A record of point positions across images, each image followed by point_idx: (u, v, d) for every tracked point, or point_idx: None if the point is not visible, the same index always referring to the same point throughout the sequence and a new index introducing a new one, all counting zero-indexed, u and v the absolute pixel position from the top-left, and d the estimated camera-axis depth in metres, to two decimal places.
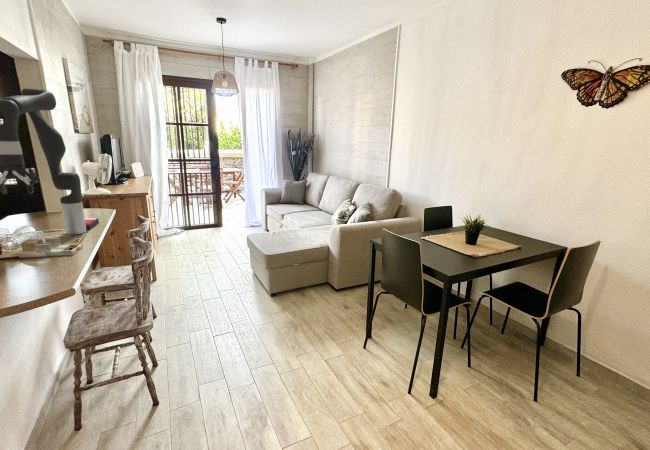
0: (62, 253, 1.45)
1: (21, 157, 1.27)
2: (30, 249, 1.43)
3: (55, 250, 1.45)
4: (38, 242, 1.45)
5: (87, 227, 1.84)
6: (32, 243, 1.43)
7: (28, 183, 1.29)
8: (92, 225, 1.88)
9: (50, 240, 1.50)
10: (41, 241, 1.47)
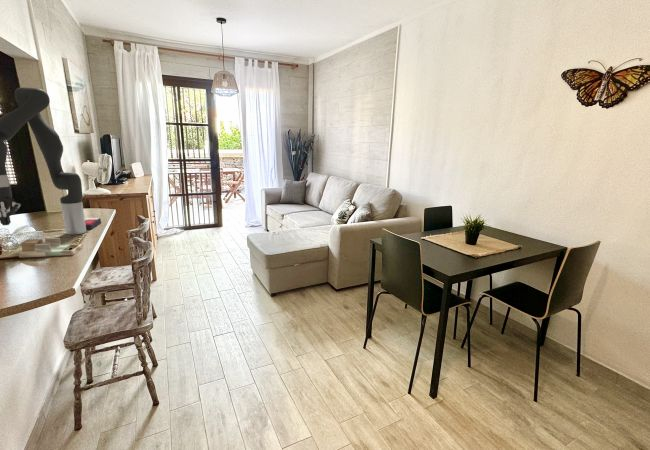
0: (62, 253, 1.45)
1: (9, 189, 1.37)
2: (30, 249, 1.43)
3: (55, 250, 1.45)
4: (38, 242, 1.45)
5: (88, 227, 1.85)
6: (32, 243, 1.43)
7: (4, 215, 1.39)
8: (94, 225, 1.89)
9: (50, 240, 1.50)
10: (41, 241, 1.47)
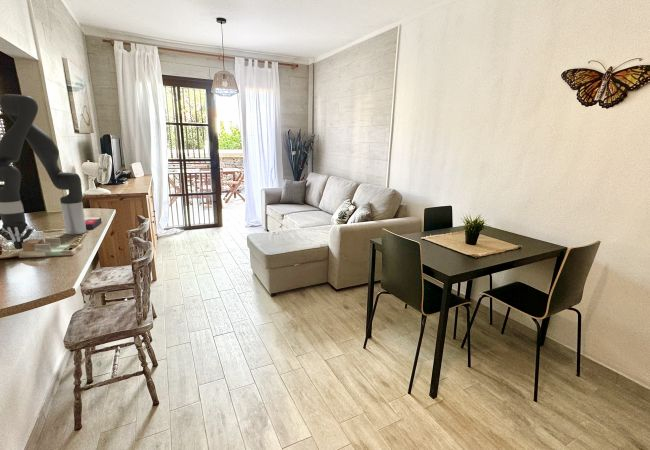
0: (62, 253, 1.45)
1: (22, 214, 1.41)
2: (31, 249, 1.43)
3: (55, 250, 1.45)
4: (39, 242, 1.45)
5: (90, 226, 1.85)
6: (33, 243, 1.43)
7: (18, 240, 1.42)
8: (95, 224, 1.89)
9: (50, 240, 1.50)
10: (42, 241, 1.47)
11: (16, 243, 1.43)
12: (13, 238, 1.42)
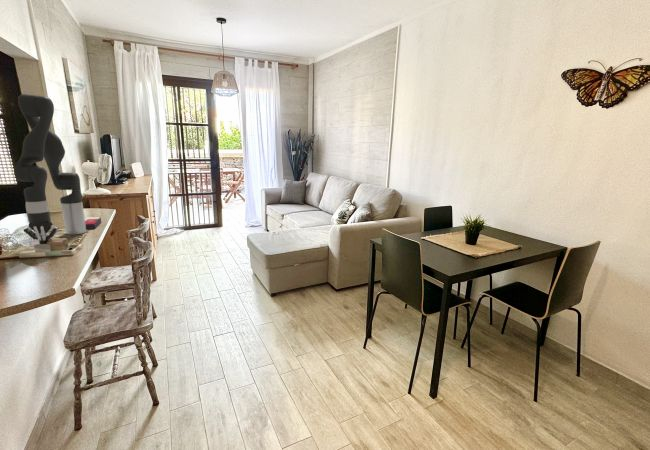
0: (62, 253, 1.45)
1: (48, 214, 1.44)
2: (56, 248, 1.46)
3: (55, 250, 1.45)
4: (63, 241, 1.47)
5: (92, 226, 1.86)
6: (58, 242, 1.45)
7: (44, 239, 1.45)
8: (96, 224, 1.90)
9: None
10: (66, 240, 1.50)
11: (41, 242, 1.45)
12: (39, 237, 1.44)
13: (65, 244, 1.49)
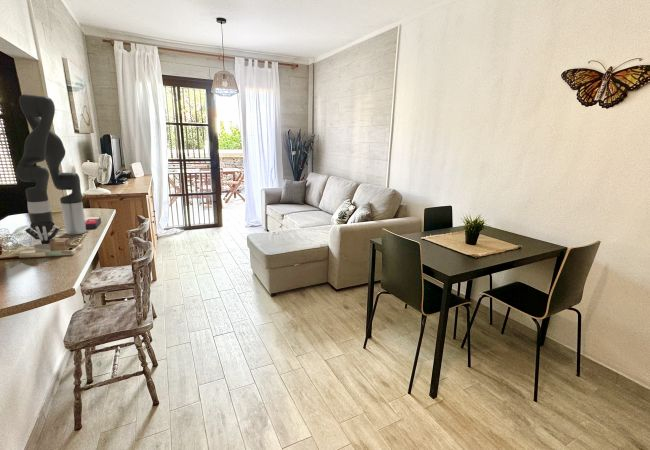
0: (62, 253, 1.45)
1: (50, 214, 1.44)
2: (58, 248, 1.46)
3: (55, 250, 1.45)
4: (65, 241, 1.48)
5: (93, 226, 1.87)
6: (60, 242, 1.45)
7: (46, 239, 1.45)
8: (97, 224, 1.91)
9: (50, 240, 1.50)
10: (68, 240, 1.50)
11: (43, 242, 1.45)
12: (41, 237, 1.44)
13: (67, 244, 1.49)
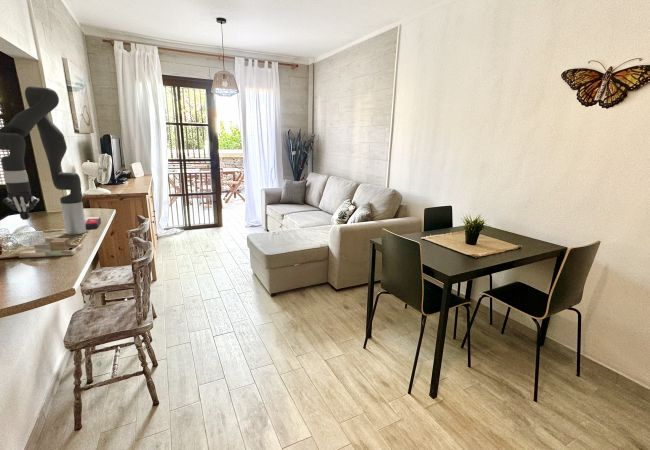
0: (62, 253, 1.45)
1: (28, 184, 1.40)
2: (58, 248, 1.46)
3: (55, 250, 1.45)
4: (65, 241, 1.48)
5: (94, 226, 1.88)
6: (60, 242, 1.45)
7: (24, 210, 1.41)
8: (98, 224, 1.91)
9: (50, 240, 1.50)
10: (68, 240, 1.50)
11: (22, 213, 1.42)
12: (19, 208, 1.41)
13: (67, 244, 1.49)
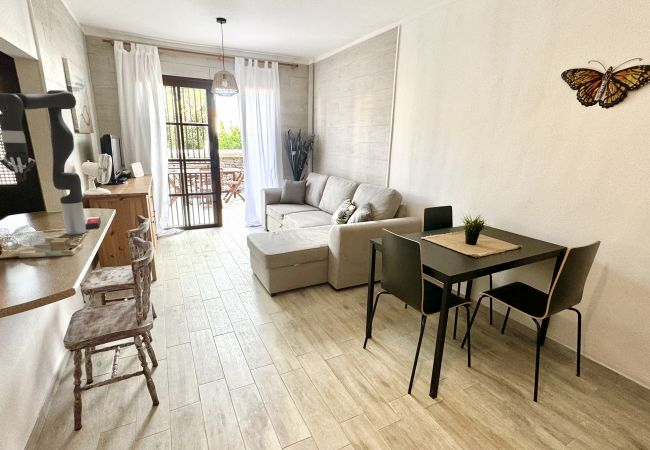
0: (62, 253, 1.45)
1: (25, 145, 1.43)
2: (58, 248, 1.46)
3: (55, 250, 1.45)
4: (65, 241, 1.48)
5: (96, 225, 1.88)
6: (60, 242, 1.45)
7: (21, 171, 1.44)
8: (99, 223, 1.92)
9: (50, 240, 1.50)
10: (68, 240, 1.50)
11: (19, 174, 1.44)
12: (16, 169, 1.44)
13: (67, 244, 1.49)
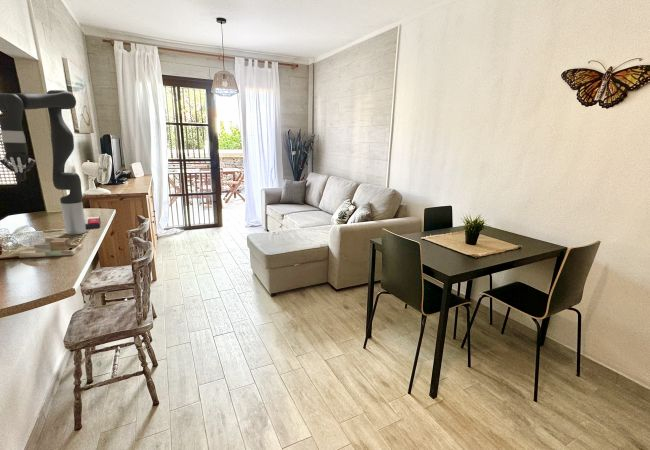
0: (62, 253, 1.45)
1: (25, 145, 1.43)
2: (58, 248, 1.46)
3: (55, 250, 1.45)
4: (65, 241, 1.48)
5: (97, 225, 1.89)
6: (60, 242, 1.45)
7: (21, 171, 1.44)
8: (99, 223, 1.92)
9: (50, 240, 1.50)
10: (68, 240, 1.50)
11: (19, 174, 1.44)
12: (16, 169, 1.44)
13: (67, 244, 1.49)
